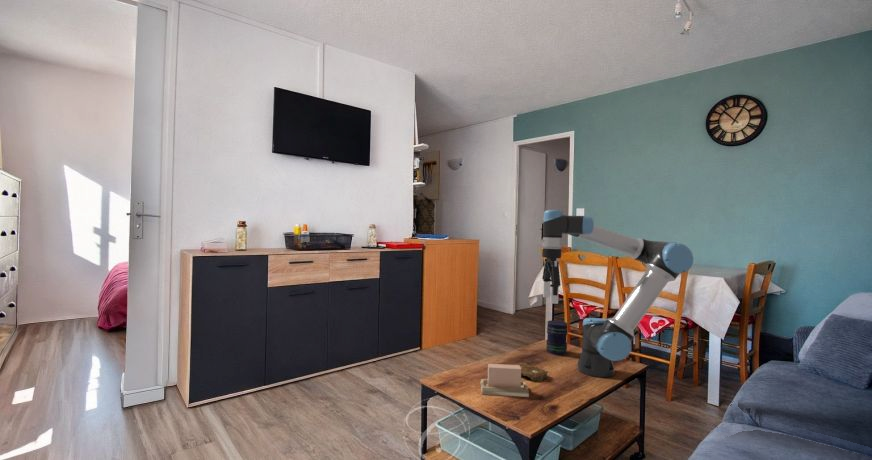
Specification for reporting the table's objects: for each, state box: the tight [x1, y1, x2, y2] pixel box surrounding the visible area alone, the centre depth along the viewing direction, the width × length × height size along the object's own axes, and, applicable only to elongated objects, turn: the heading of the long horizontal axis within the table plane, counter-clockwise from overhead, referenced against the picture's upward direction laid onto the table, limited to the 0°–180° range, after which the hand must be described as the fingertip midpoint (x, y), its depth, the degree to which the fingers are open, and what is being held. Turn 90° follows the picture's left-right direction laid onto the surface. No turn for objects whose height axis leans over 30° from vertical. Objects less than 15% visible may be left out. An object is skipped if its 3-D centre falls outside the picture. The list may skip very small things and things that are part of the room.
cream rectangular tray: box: [480, 378, 530, 398], centre depth 148 cm, size 10×17×2 cm, turn 87°
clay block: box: [487, 363, 522, 388], centre depth 148 cm, size 12×4×8 cm, turn 87°
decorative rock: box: [513, 362, 549, 382], centre depth 164 cm, size 11×4×15 cm
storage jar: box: [546, 319, 568, 356], centre depth 196 cm, size 10×10×15 cm
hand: (550, 300), depth 159 cm, fingers open, 13 cm apart
